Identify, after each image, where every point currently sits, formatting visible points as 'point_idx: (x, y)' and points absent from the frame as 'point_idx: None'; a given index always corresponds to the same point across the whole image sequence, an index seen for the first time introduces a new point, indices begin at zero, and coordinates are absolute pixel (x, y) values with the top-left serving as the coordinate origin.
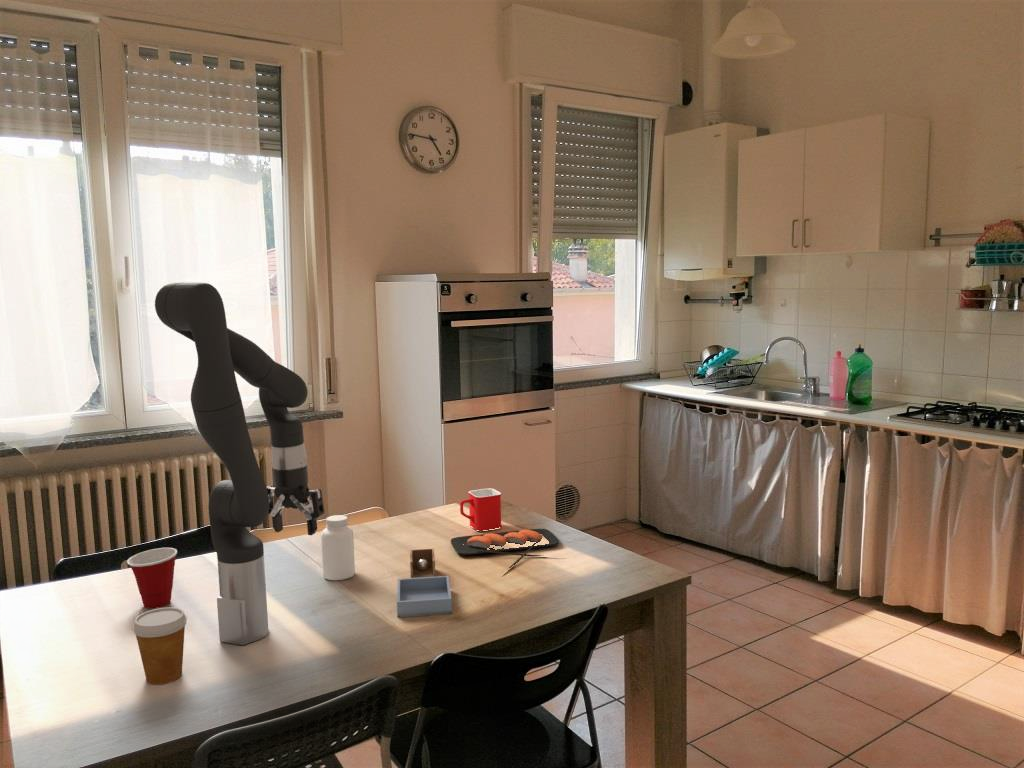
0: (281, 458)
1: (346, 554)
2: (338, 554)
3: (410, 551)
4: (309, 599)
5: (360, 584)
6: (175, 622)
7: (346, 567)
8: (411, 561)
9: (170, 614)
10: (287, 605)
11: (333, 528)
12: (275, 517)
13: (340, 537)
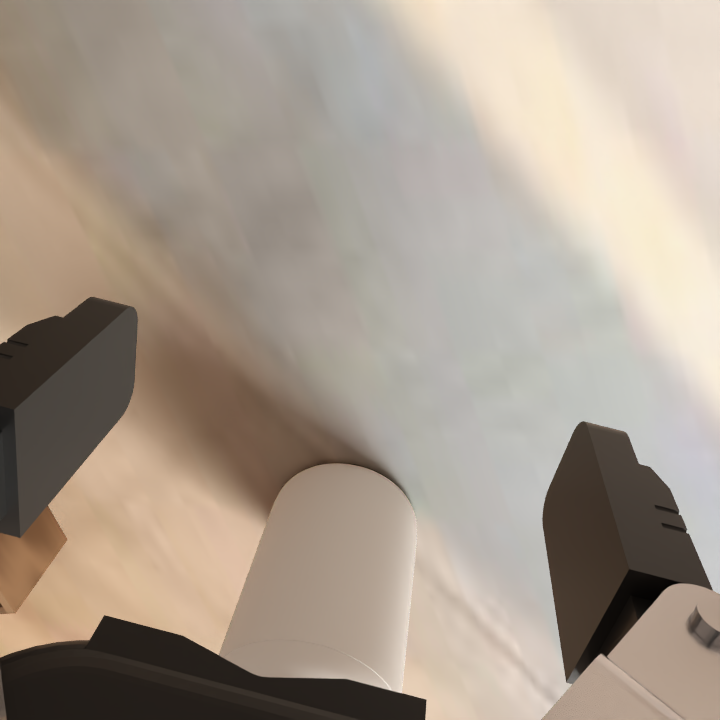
0: None
1: (258, 567)
2: (290, 559)
3: (3, 598)
4: (393, 254)
5: (210, 423)
6: None
7: (277, 513)
8: None
9: None
10: (493, 171)
11: None
12: (643, 570)
13: (250, 645)
